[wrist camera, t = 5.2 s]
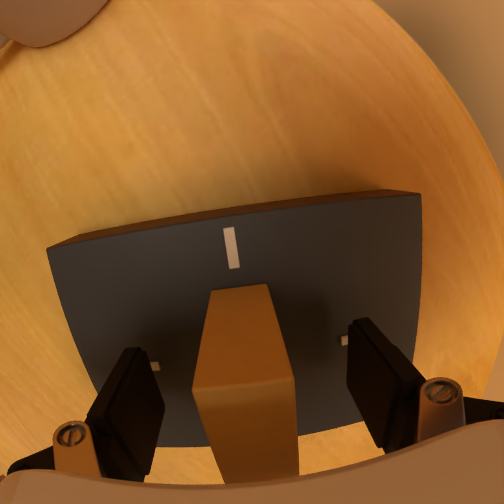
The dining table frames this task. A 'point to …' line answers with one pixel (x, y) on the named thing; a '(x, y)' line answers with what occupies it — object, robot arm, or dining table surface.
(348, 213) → the plate
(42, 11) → the cup
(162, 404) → the robot arm
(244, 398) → the red-cornered brown block
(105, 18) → the dining table surface
